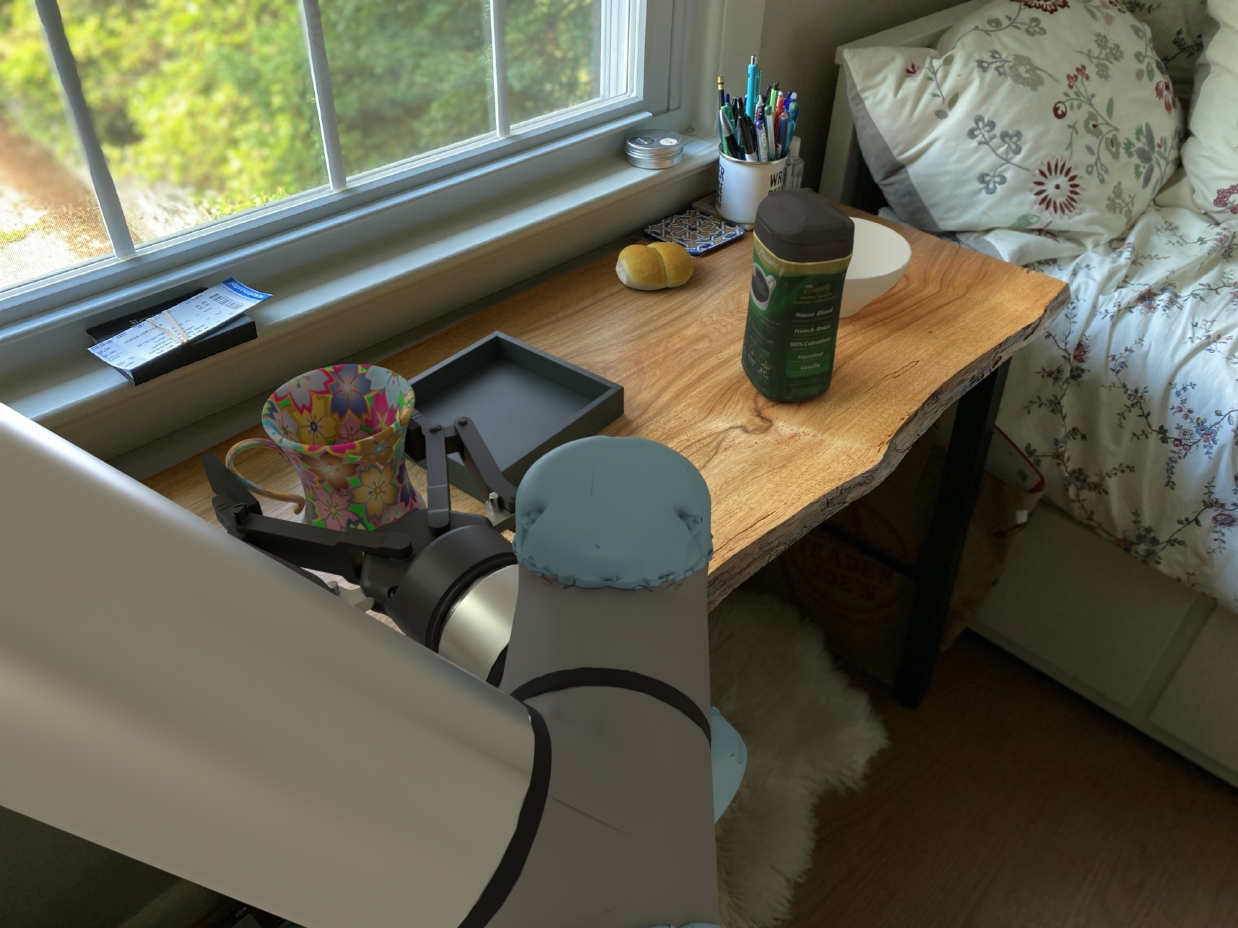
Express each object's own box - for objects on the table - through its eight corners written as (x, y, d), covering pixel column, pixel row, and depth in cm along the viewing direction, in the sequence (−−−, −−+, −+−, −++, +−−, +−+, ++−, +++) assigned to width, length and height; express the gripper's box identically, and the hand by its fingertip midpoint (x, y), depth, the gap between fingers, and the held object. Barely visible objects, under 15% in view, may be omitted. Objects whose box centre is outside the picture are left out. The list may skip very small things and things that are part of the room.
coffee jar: (841, 399, 90) (873, 218, 79) (765, 411, 89) (786, 228, 77) (802, 349, 98) (826, 176, 86) (730, 359, 96) (745, 185, 85)
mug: (417, 473, 69) (396, 351, 63) (449, 553, 63) (430, 426, 56) (249, 515, 66) (208, 390, 59) (264, 604, 59) (220, 475, 52)
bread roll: (703, 285, 109) (705, 254, 106) (630, 297, 107) (630, 265, 104) (677, 255, 115) (678, 225, 112) (608, 266, 113) (607, 235, 110)
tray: (493, 509, 78) (489, 480, 76) (365, 435, 86) (359, 407, 84) (624, 413, 89) (624, 386, 87) (499, 356, 97) (497, 330, 95)
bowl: (768, 263, 113) (774, 208, 109) (903, 279, 110) (915, 223, 105) (746, 327, 101) (751, 268, 97) (897, 347, 98) (910, 287, 93)
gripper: (308, 789, 46) (137, 557, 59) (645, 564, 58) (443, 413, 71) (273, 693, 41) (95, 464, 54) (648, 471, 53) (431, 327, 66)
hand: (293, 435), depth 62 cm, fingers closed on mug, 11 cm apart
